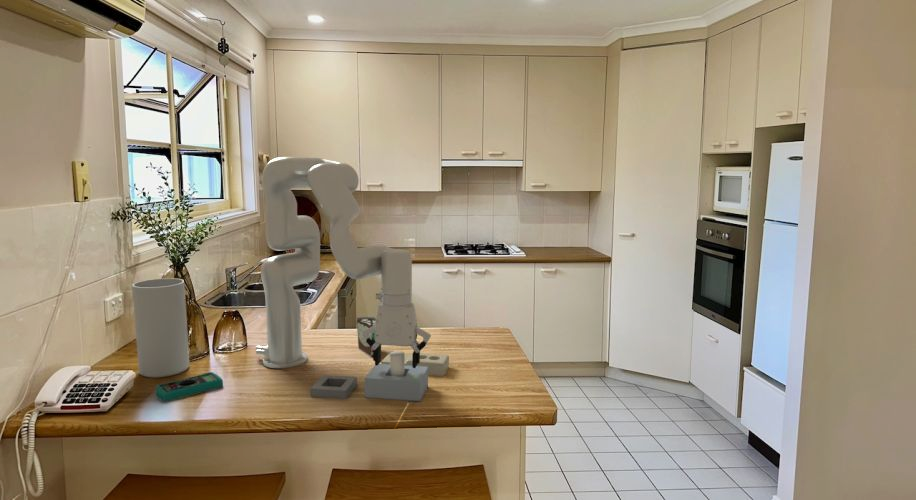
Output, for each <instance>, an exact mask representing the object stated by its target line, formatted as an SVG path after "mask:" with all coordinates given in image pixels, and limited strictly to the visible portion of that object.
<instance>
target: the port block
mask: <svg viewBox="0 0 916 500" xmlns="http://www.w3.org/2000/svg"><path fill="white" fill-rule="evenodd" d="M428 388H429V375H428V367H423V366H416V368H413V367H412V366H406V365H405V377H403V376H390V365H389V364H381V363H379V365H375V364H374V366H373V367H372V368H371V369H370V371H369V372H368V373H367V374H366V375H365V377H364V398H366V399H379V400H394V401H405V402H406V401H407V402H408V403H416V404H417V403H419V404H420V403H421V402H422V401H423V399H424V397H425V394H426V392H427V390H428Z"/></svg>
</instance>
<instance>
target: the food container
mask: <svg viewBox="0 0 916 500" xmlns="http://www.w3.org/2000/svg"><path fill="white" fill-rule="evenodd" d="M375 322H376V316H375V317H374V316H359V317H357V316H356V322H355V323H356V329H357V331H356V333H357V342H358V345H357V346H358V348H357V349H358V350H360V351H361V352H363V353H364V354H365V355H367V356H368V357H370V358H373V350H372V349H371V347H370V345H369V344H368V343H367V342H366V339H365V338H364V336H363V334H362V333H363V331H364V330H366V329H368V328H371V327H373V326H375ZM370 335H371V337H372V338H373V339H374V340H375V332H373V333H371V334H370ZM379 347H380V348H381V349H382V345H379Z"/></svg>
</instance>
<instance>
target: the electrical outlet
mask: <svg viewBox="0 0 916 500" xmlns="http://www.w3.org/2000/svg"><path fill="white" fill-rule="evenodd" d="M390 353H391V352H389V353H388V354H387V355H386V356H385V357H384V358H383V359H381V362H380V364H389V365H390ZM404 359H405V365H406V366H412V354H406V353H404ZM417 366H423V367H428V376H438V377H439V376H440V377H444V376H445V375H446V374H447V372H448V370H449V368H450V355H448V354H441V353H440V354H437V353H425V352H424V353H423V352H420V363H419V364H417Z"/></svg>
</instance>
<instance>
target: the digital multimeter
mask: <svg viewBox="0 0 916 500" xmlns="http://www.w3.org/2000/svg"><path fill="white" fill-rule="evenodd" d="M223 383H224V382H223V379H222V377H221V376H219V375H218V374H216V373H214V372H212V371H211V372H206V373H202V374H198V375H195V376H192V377H191V376H190V377H187V378H181V379H178V380H174V381H168V382H166V383H165V382H163V383H159V384H158V385H156V386H155V396H156V398H157V399H158V400H159V401H162V402H164V403H166V402H170V401H174V400H178V399H181V398H185V397H188V396H192V395H197V394H201V393H205V392H208V391H212V390H216V389H220V388H223V387H224V384H223Z"/></svg>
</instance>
